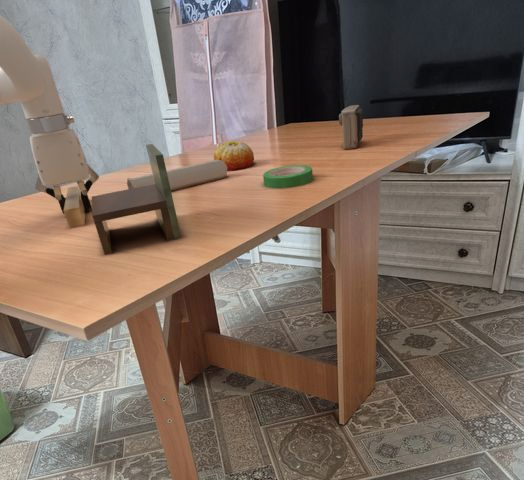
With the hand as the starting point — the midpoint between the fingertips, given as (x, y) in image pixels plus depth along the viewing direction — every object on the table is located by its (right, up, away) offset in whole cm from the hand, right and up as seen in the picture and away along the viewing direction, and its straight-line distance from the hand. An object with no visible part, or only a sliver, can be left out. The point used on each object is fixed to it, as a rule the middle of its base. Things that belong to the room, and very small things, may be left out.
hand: (78, 213), depth 106 cm
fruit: (+34, +19, +23) cm, 45 cm away
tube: (+22, +9, +9) cm, 25 cm away
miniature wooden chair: (+19, -10, -20) cm, 29 cm away
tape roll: (+48, +7, +1) cm, 48 cm away
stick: (0, 0, 0) cm, 0 cm away
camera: (+68, +28, +29) cm, 79 cm away
